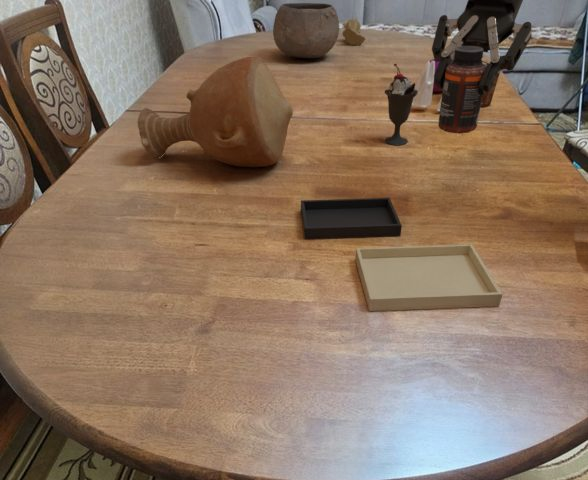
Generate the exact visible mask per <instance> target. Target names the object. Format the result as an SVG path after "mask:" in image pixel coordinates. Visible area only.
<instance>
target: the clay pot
mask: <svg viewBox="0 0 588 480" xmlns="http://www.w3.org/2000/svg"><path fill="white" fill-rule="evenodd" d="M336 10H337V9H335V8H334V6H333V5H332V4H328V3H319V2H289V3H287V2H286V3H282V4H281V5H280V7H279V8H278V10H277V11H276V14H275V17H274V21H273V27H272V35H273V40H274V43H275V45H276V47H277V48H278V50H280V52H281V53H283V54H285V55H286V56H289V57H291V58H296V59H318V58H321V57H324V56H325V55H326V54H328V53H329V52H330V51H331V50H332V49H333V48H334V46H335V44H336V43H337V41H338V38H339V34H340V21H339V15H338V14H337V11H336Z"/></svg>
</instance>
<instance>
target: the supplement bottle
mask: <svg viewBox="0 0 588 480" xmlns="http://www.w3.org/2000/svg"><path fill="white" fill-rule="evenodd" d="M483 50H484V49H483V48H481V47H478V46H460V47H457V48H456V49H455V54H454V60H453V62H452V63H451V64H449V65H448V66H447V68H446V72H445V79H444V85H443V91H442V94H441V97H442V100H441V107H440V111H439V117H438V127H439V129H440V130H442V131H443V132H446V133H449V134H467V133H471V132H473V131H475V130H476V129H477V126H478V122H479V116H480V112H481V107H480V106H481V101H482V95H479V90H478V86H479V83H480V81H481V78H482V76H483V73H484V71H485V69H486V67H485V65H483V63H482V61H483V60H482V59H483V57H484V52H483Z"/></svg>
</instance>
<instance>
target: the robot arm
mask: <svg viewBox="0 0 588 480" xmlns="http://www.w3.org/2000/svg"><path fill="white" fill-rule="evenodd" d="M523 1H524V0H467V2H466V5H465V9H464V11H463V12H462V13H461V14H460V15H459V16H458V18H448V16H447V15H446V14H443V15H441V16H440V17H439V19H438V23H437V27H436V31H435V34H434V39H433V42H432V46H431V52H432V56H433V59H434V60H435V61H436V62H439V64H438V67H437V69H436V71H435V74H434V81H435V84H436V86H437V88H438V89H442V88H443V85H444V79H445V72H446V68H447V66H448V65H449V64H451V63H452V62H453V60H454V54H455V49H456V48H457V47H460V46H478V47H481V48H483V49H484V50H483V53H488V52H489V56H490V62H489V63H488V62H487V63H488V64H487V66H486V69H485V71H484V73H483V76H482V78H481V81H480V83H479V86H478V90H479V95H485V93H486V91H487V92H489V91H490V90H491V88H492V86H493V83H494V81H495V78H496V76H497V73H498V72H499V71H500V70H503V71H504V70H506V71H508V72H509V71H512V70H514V69H515V67H516V65H517V63H518V62H519V60H520V59H521V57H522V55H523V53H524V51H525V50H526V48H527V46H528V45H529V43H530V40H532V37H533V36H532V34H533V33H532V31H533V29H532V28H533V27H532V23H531V21H526V22H523V24H520V23H516V19H517V16H518V14H519V12H520V9H521V6H522V5H523ZM455 30H457V31H458V32H457V33H456V34H455V35H454V36H453V37H452V39H451V41H450V43H449V44H448V45H447V41H448V38H449V37H451V36H452V35H453V32H454V31H455ZM512 35H513V41H512V43H511V44H510V46H509V48H508V49H507V51H506V53H505V55H500V48H499V47H500V46H499V45H500V44H502V43H503V42H504V41H505V40H507V39H508V38H509V37H511V36H512Z"/></svg>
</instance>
